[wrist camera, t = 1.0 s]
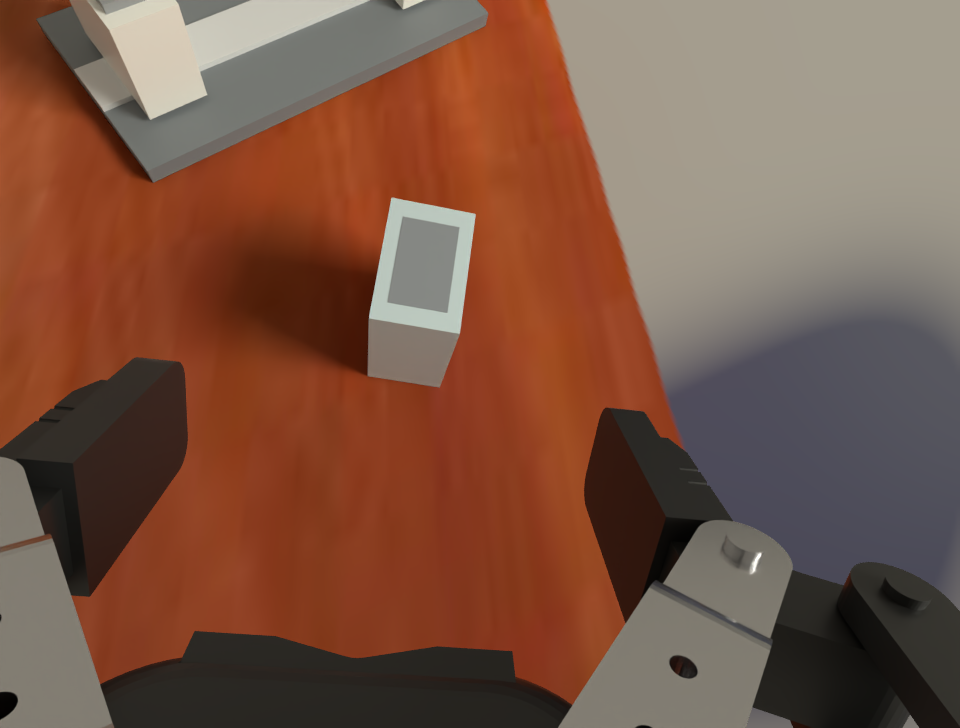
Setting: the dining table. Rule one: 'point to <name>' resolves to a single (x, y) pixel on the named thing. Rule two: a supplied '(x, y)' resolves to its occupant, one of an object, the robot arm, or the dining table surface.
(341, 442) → the dining table surface
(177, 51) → the module
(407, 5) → the module
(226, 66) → the mounting board
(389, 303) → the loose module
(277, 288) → the dining table surface
